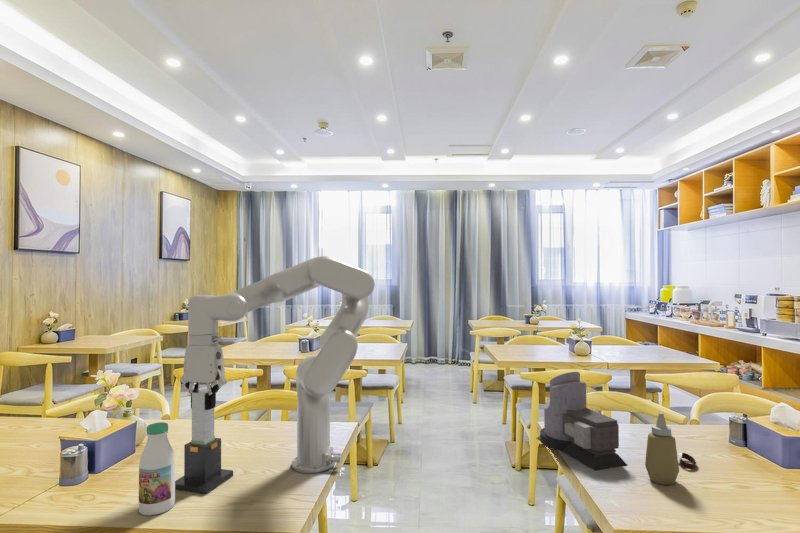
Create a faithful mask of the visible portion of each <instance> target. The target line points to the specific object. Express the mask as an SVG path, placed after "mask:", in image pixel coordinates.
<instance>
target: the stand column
mask: <svg viewBox="0 0 800 533" xmlns="http://www.w3.org/2000/svg"><path fill="white" fill-rule="evenodd" d="M206 395H208V392H207V388H206V389H205V388H202V389H201V388H200V389H199V390H198V391H195V392H192V409H191V440H190V442H191V444H194V445H203V446H205V445H207V444H209V443H211V442H212V441H214V440H215V438H216V436H215V407H214V408H212V409H210V410H206Z"/></svg>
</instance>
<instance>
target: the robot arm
mask: <svg viewBox="0 0 800 533" xmlns="http://www.w3.org/2000/svg"><path fill="white" fill-rule="evenodd" d="M375 283H376V282H375V279H374V278H373V275H372V274H371V273H370V272H368V270H364V269H362V268H359V267H356V266H354V265H351V264H348V263H346V262H344V261H340V260H337V259H335V258H333V257H330V256H326V255H321V256H315V257H312V258H309V259H307V260H305V261H302V262H300V263H297V264H295V265H293V266H290V267H288V268H285V269H283V270H280V271H278V272H275V273H273V274H271V275H268V276H266V277H265V278H262V279H260V280H258V281H255V282H254V283H251V284H248V285H246V286H243V287H241V288H238V289H236V290H234V291H231V292H228V293H227V294H224V295H214V294H196V295H191V296H189V298H188V305H187V306H188V308H187V310H188V313H187V314H188V315H187V318H188V319H187V322H188V323H187V324H188V326H187V328H188V330H187V332H188V333H187V334H188V335H187V338H188V339H187V340H188V341H187V345H186V347H185V353H184V357H183V358H184V360H183V374H182V376H181V378H180V383H182V384H183V385H184V386H185V388H186V389H187V390H188V394H190V409H191V410H192V392H195V391H198V390H200V386H201V384H205V385H206V389H207V392H208V395H206V410H210V409H212V408H214V409H215V407H216V403H217V395H216V394H217V393H218V392H219V390H220V389H221V388H222V387H224V386H225V385H226V384H227V382H228V381H227V380H226V377H225V375H226V374H225V361H224V360H225V359H224V353H223V349H222V348H223V347H222V345H221V344H219V342H221V341H222V337H221V336H219V321H222V322H238V321H240V320H242V319H243V318H245V316H247V314H248V313H250V312H253V311H255V310H257V309H259V308H262V307H265V306H268V305H271V304H275V303H283V302H285V301H289V300H291V299H293V298H296V297H298V296H301V295H302V294H304V293H307V292H309V291H311V290H312V291H313V290H314V289H316V288H318V287H321V286H322V287H324V288H327V289H330V290H332V291H334V292H335V291H336V292H338V293H341V297H342V298H341V299H342V301H341V304H340V307H339V309H338V311H337V312H336V314H335V315H334V317H333V319H332V320H331V321H330V322H329V324H328V325H327V327H326V328H325V330H324V331H323V332H322V334H321V336H320V337H319V340H318V347H319V352H318V353H317V355H311V356H307V357H305V358H303V359H302V360H301V361H300V362H299V364H298V365H297V367H296V371H295V384H296V398H297V399H296V401H297V404H296V405H297V406H296V407H297V408H296V409H297V411H296V414H297V415H296V418H297V419H296V420H297V421H296V422H297V423H296V431H297V432H296V434H297V435H296V436H297V437H296V442H297V444H296V445H297V446H296V449H297V450H296V451H297V452H296V453H297V454H296V455H297V456H296V457H294V458H293V460H291V468H292V469H293V470H294V471H295V472H298V473H303V474H316V473H322V472H325V471H328V470H330V469H331V468H333V467H334V465H335V464H336V463H337V464H341V463H342V462H343V456H342V452H335V451H334V447H333V446H331V402H330V401H331V396H330V393H331V392H332V391H333V390H335V388H336V387H337V385H338V384H339V383H340V381H341V380H342V378H343V377H344V375H345V373H346V372H347V370H348V369H349V368H350V367H351V365H352V363H353V361H354V359H355V358H356V355H357V352H358V349H359V348H358V346H359V344H358V343H359V342H358V339H357V337H356V336H357V334H358V332H359V331H360V330H361V327H362V326H363V324H364V322H365V321H366V318H367V316H368V313H369V307H370V306H369V305H370V304H369V303H370V301H369V296H371V295H372V293H373V292H374V289H375V285H376V284H375Z"/></svg>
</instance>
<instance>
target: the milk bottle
mask: <svg viewBox="0 0 800 533" xmlns="http://www.w3.org/2000/svg"><path fill="white" fill-rule="evenodd" d="M168 433H169V424H168V423H167V422H163V421H161V422H160V421H159V422H154V423H150V424H148V425H147V426H146V436H147V440H146V443H145V446H144V448H143V450H142V452H141V455H140V459H139V464H138V465H139V467H138V511H139V513H140V515H143V516H156V515H161V514H164V513H165V512H168V511H170V510H171V509H172V508H173V507H174V506H175V503H176V490H175V481H176V457H175V452H174V449H173V447H172V445H171V443H170V441H169V438H168Z"/></svg>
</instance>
